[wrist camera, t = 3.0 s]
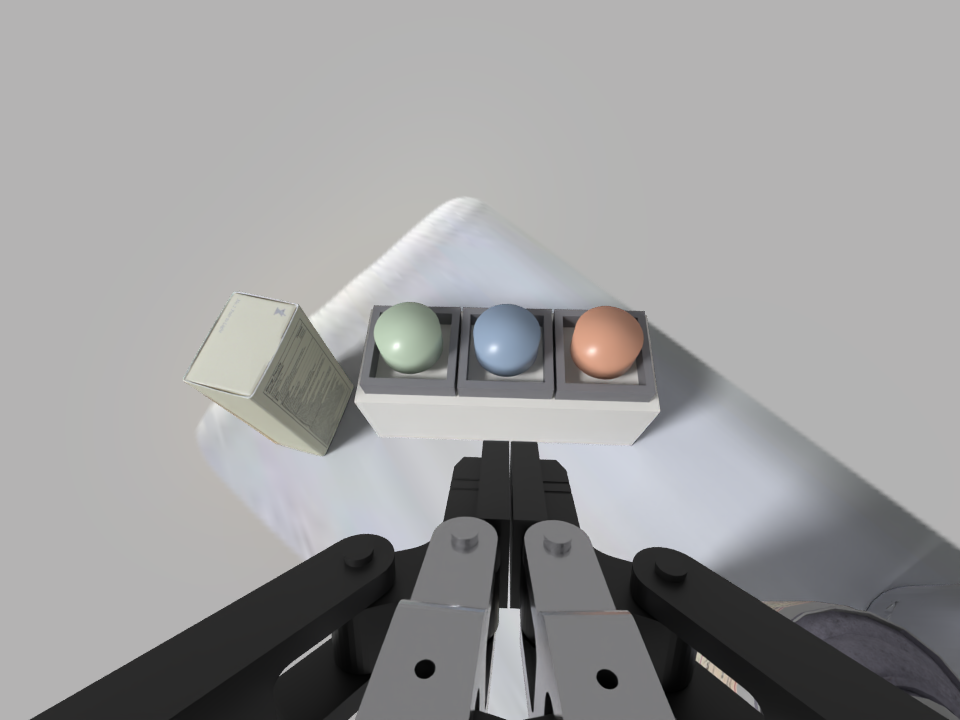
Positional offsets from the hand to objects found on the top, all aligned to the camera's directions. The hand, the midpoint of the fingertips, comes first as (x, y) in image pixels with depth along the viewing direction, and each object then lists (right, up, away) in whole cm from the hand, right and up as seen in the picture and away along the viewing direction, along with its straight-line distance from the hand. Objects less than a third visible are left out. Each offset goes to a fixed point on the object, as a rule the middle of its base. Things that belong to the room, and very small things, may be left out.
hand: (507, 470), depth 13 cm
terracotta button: (+7, +4, +16) cm, 18 cm away
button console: (+1, 0, +24) cm, 24 cm away
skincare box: (-14, -1, +24) cm, 27 cm away
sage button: (-5, +4, +17) cm, 18 cm away
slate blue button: (+1, +4, +16) cm, 17 cm away
